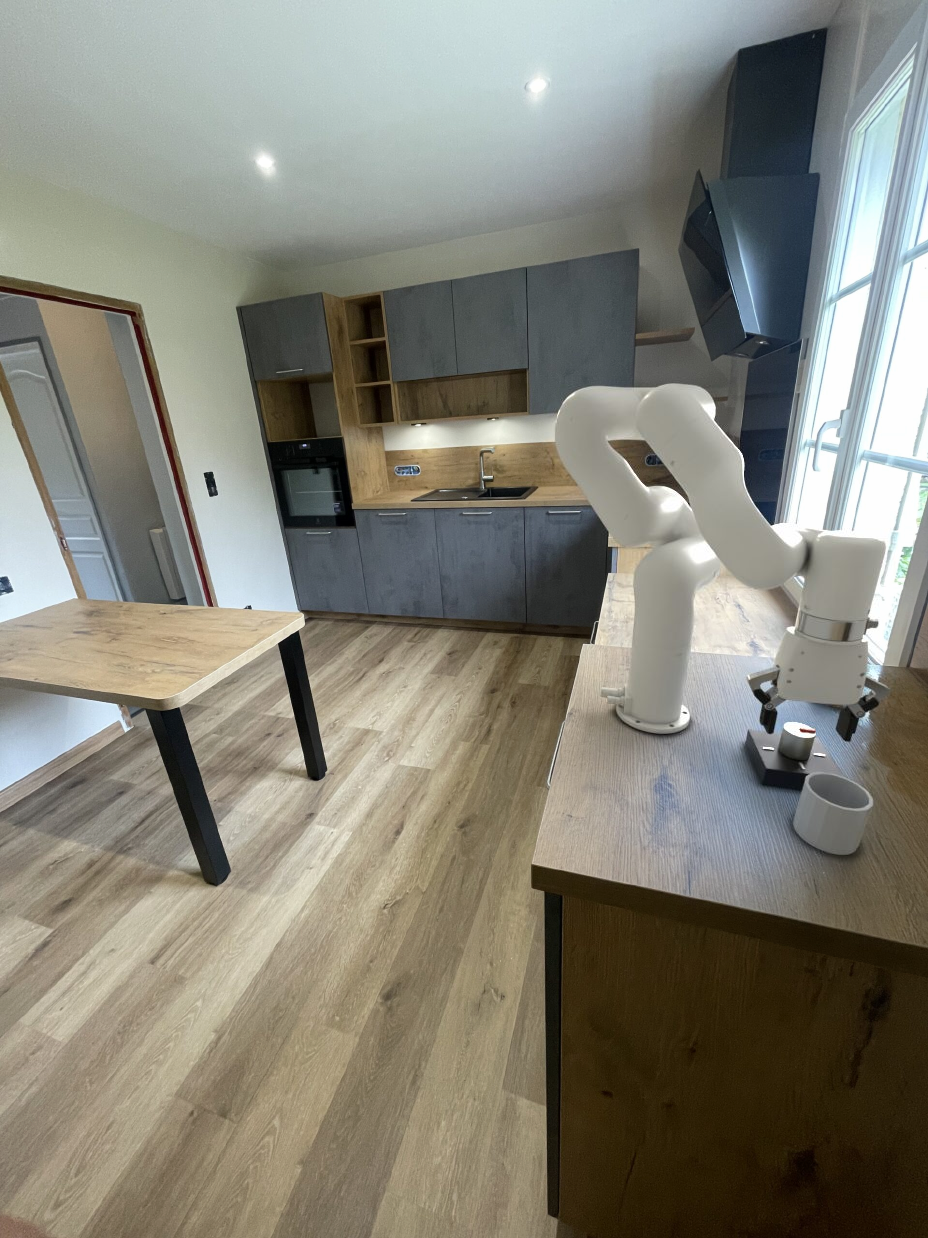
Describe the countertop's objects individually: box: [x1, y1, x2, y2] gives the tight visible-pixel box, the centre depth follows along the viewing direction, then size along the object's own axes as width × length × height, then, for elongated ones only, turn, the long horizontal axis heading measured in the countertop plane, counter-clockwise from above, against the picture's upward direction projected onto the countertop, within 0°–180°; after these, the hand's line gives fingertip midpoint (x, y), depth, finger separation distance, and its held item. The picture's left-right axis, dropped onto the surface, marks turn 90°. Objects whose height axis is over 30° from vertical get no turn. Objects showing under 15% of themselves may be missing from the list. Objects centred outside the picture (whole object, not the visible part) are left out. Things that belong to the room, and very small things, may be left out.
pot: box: [792, 772, 874, 856], centre depth 61 cm, size 7×7×7 cm
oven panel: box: [744, 729, 846, 791], centre depth 74 cm, size 10×10×3 cm
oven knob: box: [778, 721, 817, 760], centre depth 72 cm, size 4×4×4 cm
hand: (804, 732), depth 71 cm, fingers open, 9 cm apart
